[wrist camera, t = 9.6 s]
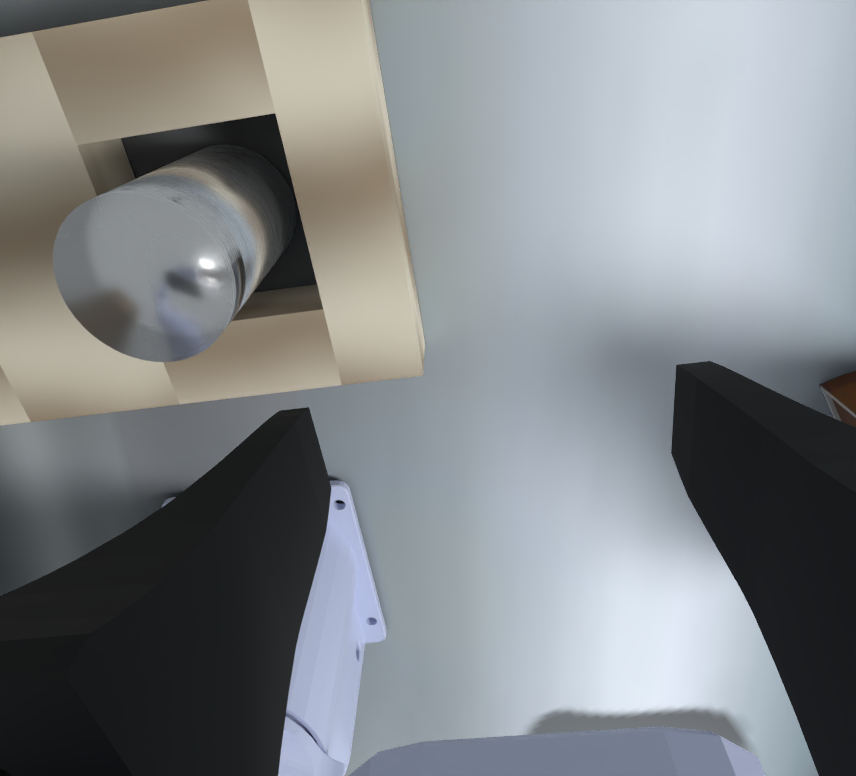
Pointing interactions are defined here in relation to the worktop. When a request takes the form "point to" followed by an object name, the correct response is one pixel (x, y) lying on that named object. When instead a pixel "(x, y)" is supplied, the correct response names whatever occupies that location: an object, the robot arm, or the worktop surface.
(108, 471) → the worktop surface
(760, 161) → the worktop surface
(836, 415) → the food container
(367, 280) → the board
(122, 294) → the silver metal cylinder
